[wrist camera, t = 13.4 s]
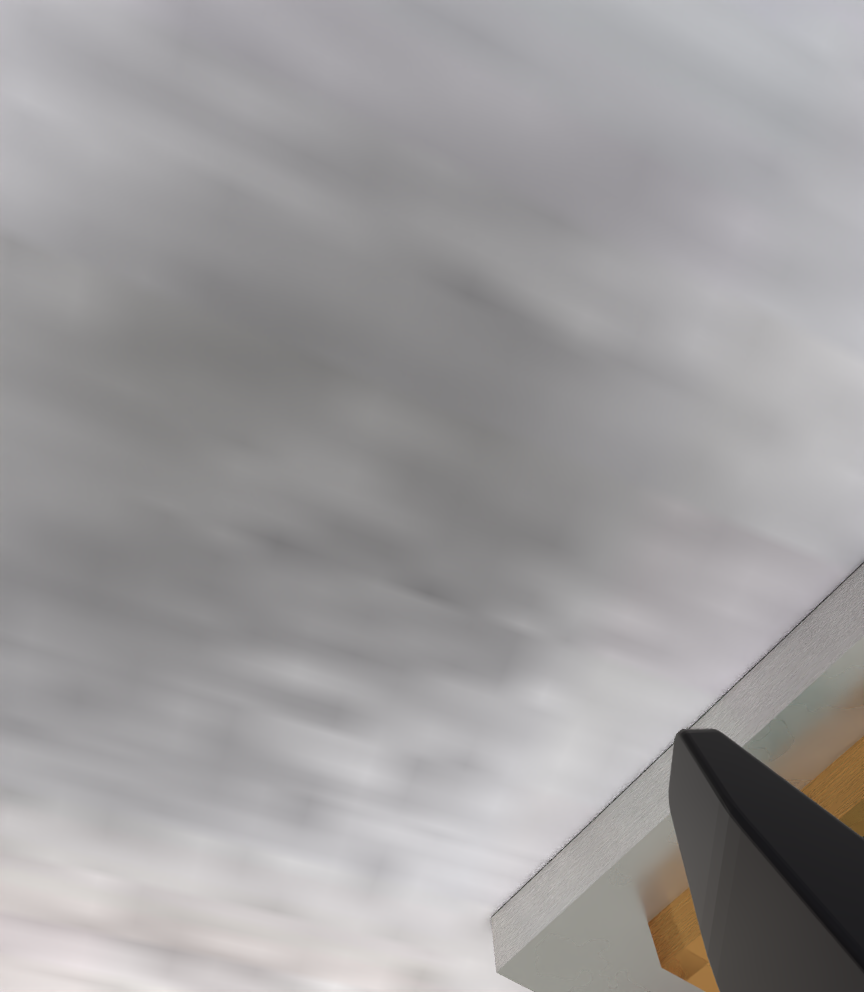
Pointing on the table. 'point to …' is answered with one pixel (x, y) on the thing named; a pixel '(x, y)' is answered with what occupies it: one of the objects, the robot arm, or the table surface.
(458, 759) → the table surface
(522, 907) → the grey flat block
